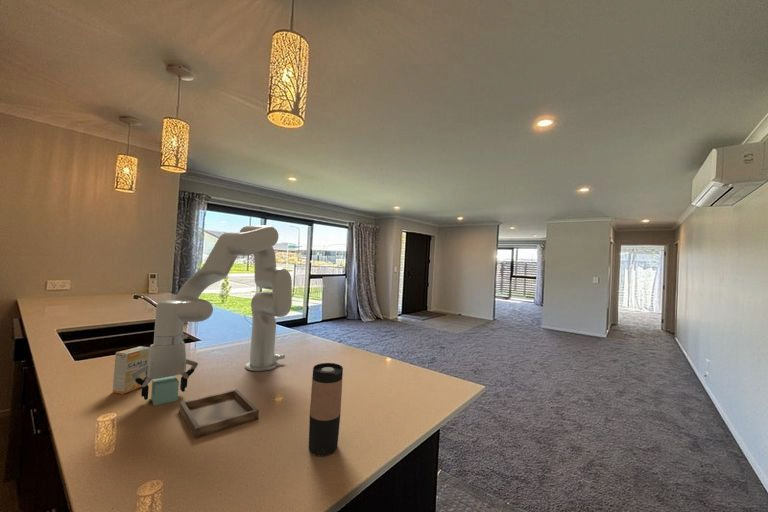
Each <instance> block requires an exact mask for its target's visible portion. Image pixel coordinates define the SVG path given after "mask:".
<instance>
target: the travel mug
mask: <svg viewBox="0 0 768 512" xmlns="http://www.w3.org/2000/svg"><path fill="white" fill-rule="evenodd" d="M343 369H344V368H343V366H342V365H340V364H338V363H333V362H323V363H317V364H316V365H314V366H313V368H312V377H311V378H312V379H311V392H310V393H311V394H310V404H309V419H308V421H309V424H308V425H309V426H308V450H309V452H310V453H311V454H312V455H313V454H315V455H314V456H316V455H320V456H319V457H322V456H321V455H324V456H323V457H326V456H325V455H327V456H330V455H332V454H334V453H335V452H336V451H337V450H338V443H339V435H340V423H341V412H342V410H341V409H342V395H343V393H342V392H343V390H342V389H343V375H344V374H343ZM329 454H330V455H329Z"/></svg>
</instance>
